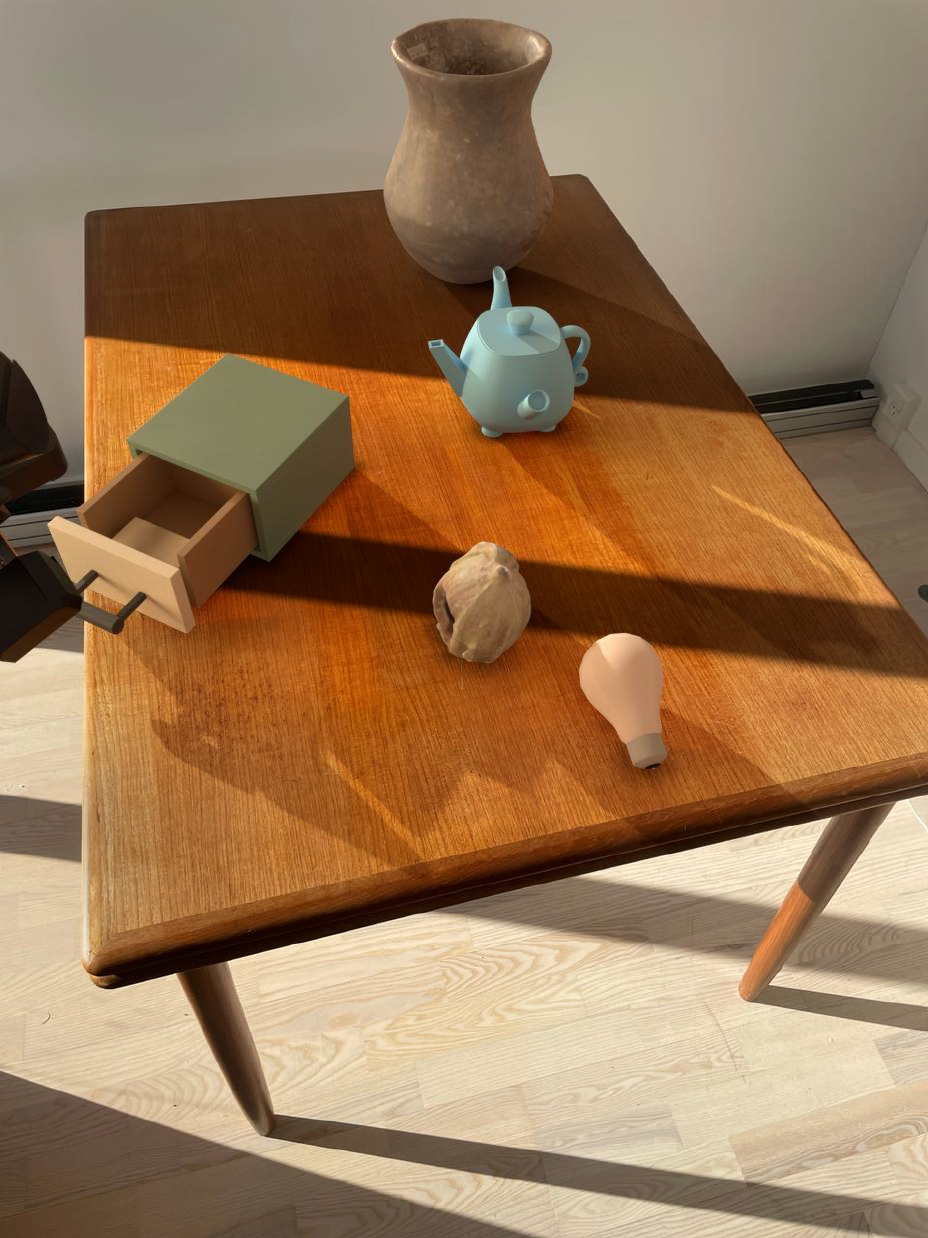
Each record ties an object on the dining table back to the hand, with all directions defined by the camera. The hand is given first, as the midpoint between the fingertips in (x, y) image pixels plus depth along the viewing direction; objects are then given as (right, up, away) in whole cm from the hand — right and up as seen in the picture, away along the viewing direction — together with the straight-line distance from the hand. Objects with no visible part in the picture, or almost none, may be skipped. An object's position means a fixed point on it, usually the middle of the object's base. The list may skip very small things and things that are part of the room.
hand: (30, 547), depth 67 cm
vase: (+31, +38, +52) cm, 71 cm away
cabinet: (+10, +7, +25) cm, 28 cm away
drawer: (+4, -1, +17) cm, 17 cm away
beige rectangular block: (+4, 0, +16) cm, 16 cm away
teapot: (+35, +17, +34) cm, 51 cm away
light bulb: (+43, -13, +9) cm, 46 cm away
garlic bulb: (+31, -7, +14) cm, 35 cm away
